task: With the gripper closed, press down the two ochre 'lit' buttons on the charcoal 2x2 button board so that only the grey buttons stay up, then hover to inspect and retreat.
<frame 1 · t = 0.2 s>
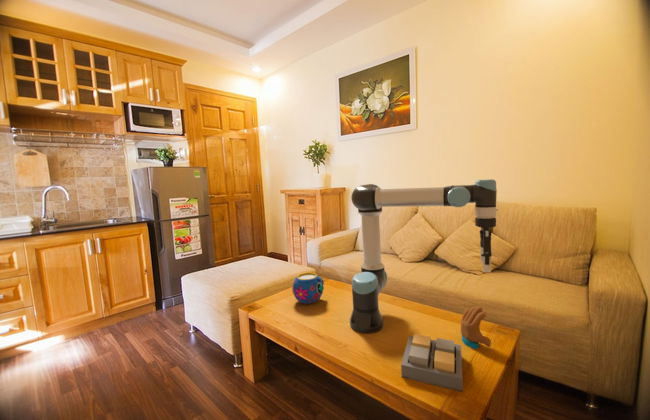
hand: (485, 267, 116), 28 cm above the table, fingers open, 13 cm apart
grey button near left: (419, 357, 95), point 5 cm above the table, slide at 0.0 cm
button board: (432, 366, 97), on the table
grey button far right: (445, 349, 99), point 5 cm above the table, slide at 0.0 cm
ceramic pot: (308, 301, 156), on the table
toy: (473, 344, 109), on the table
ochre button near right: (444, 362, 92), point 5 cm above the table, slide at 0.0 cm
ochre button far left: (421, 344, 102), point 5 cm above the table, slide at 0.0 cm
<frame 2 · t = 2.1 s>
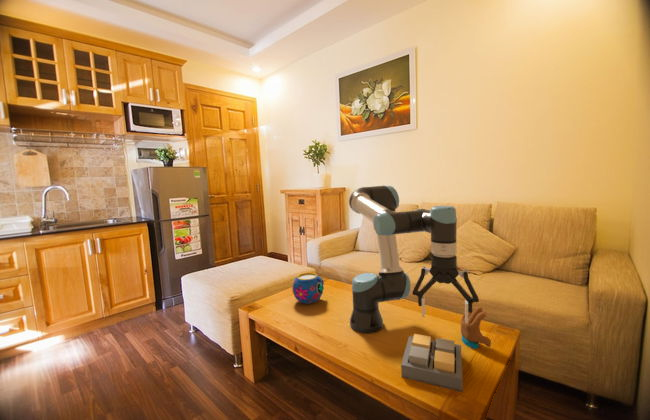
hand: (444, 318, 90), 20 cm above the table, fingers open, 12 cm apart
nothing on the table moved.
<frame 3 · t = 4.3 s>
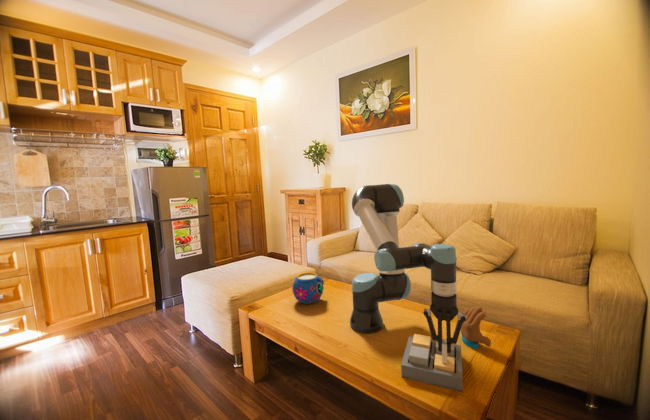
hand: (444, 360, 91), 6 cm above the table, fingers closed
ochre button near right: (444, 366, 92), point 4 cm above the table, slide at 1.4 cm, touching gripper
everything else where it was.
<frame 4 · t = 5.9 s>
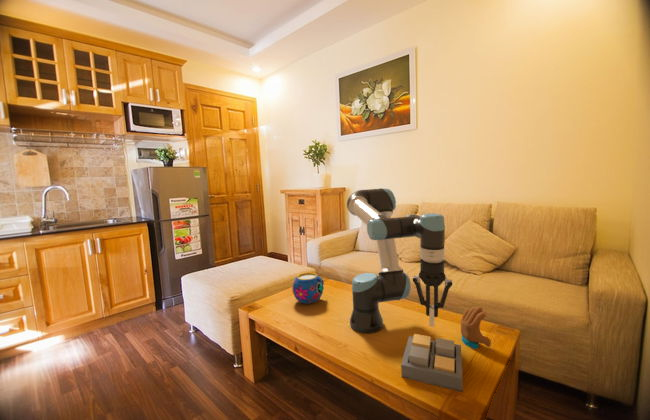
hand: (431, 324, 96), 16 cm above the table, fingers closed
ochre button near right: (444, 368, 92), point 3 cm above the table, slide at 1.9 cm
everything else where it was.
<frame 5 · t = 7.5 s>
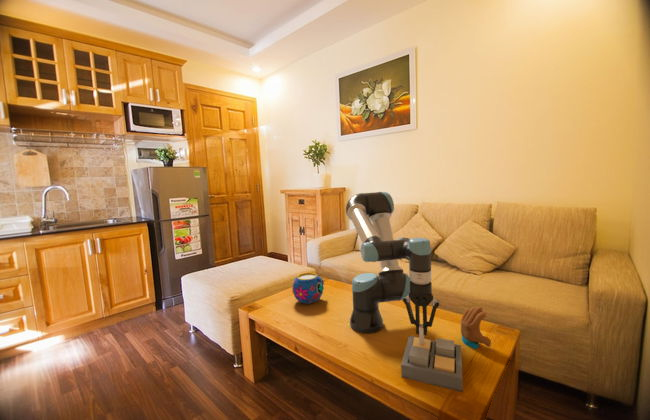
hand: (421, 342, 102), 6 cm above the table, fingers closed
ochre button far left: (421, 347, 102), point 4 cm above the table, slide at 1.3 cm, touching gripper
everything else where it was.
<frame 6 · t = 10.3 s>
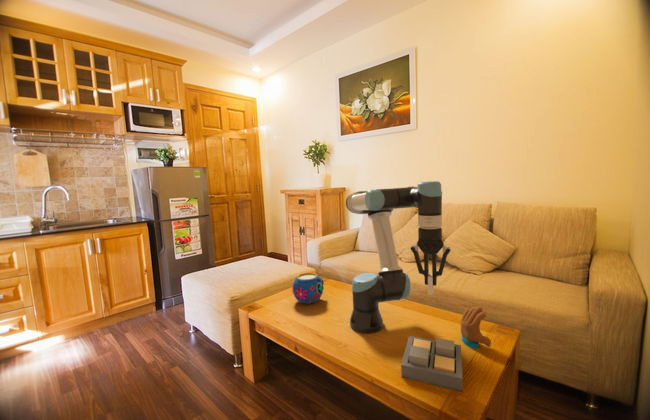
hand: (430, 293, 96), 26 cm above the table, fingers closed
ochre button far left: (421, 349, 102), point 3 cm above the table, slide at 1.9 cm
everything else where it was.
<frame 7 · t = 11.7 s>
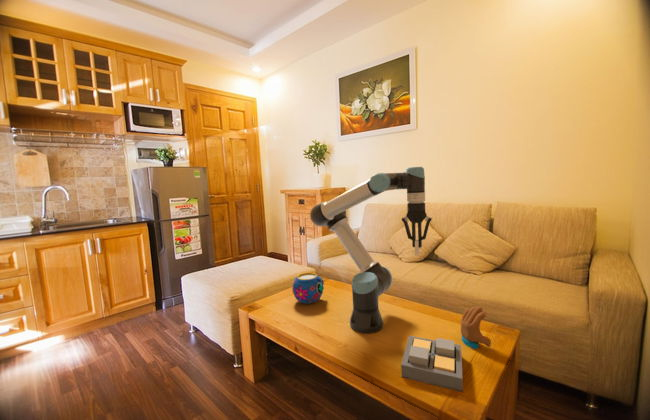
hand: (417, 254, 124), 32 cm above the table, fingers closed
nothing on the table moved.
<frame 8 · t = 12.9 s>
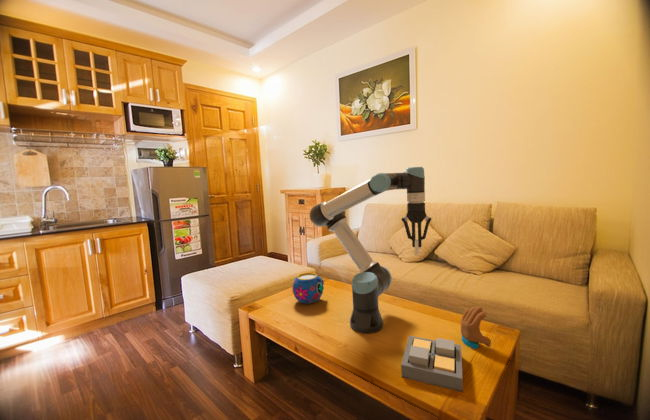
hand: (417, 254, 124), 32 cm above the table, fingers closed
nothing on the table moved.
at the end: ochre button near right slide at 1.9 cm; ochre button far left slide at 1.9 cm; grey button far right slide at 0.0 cm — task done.
